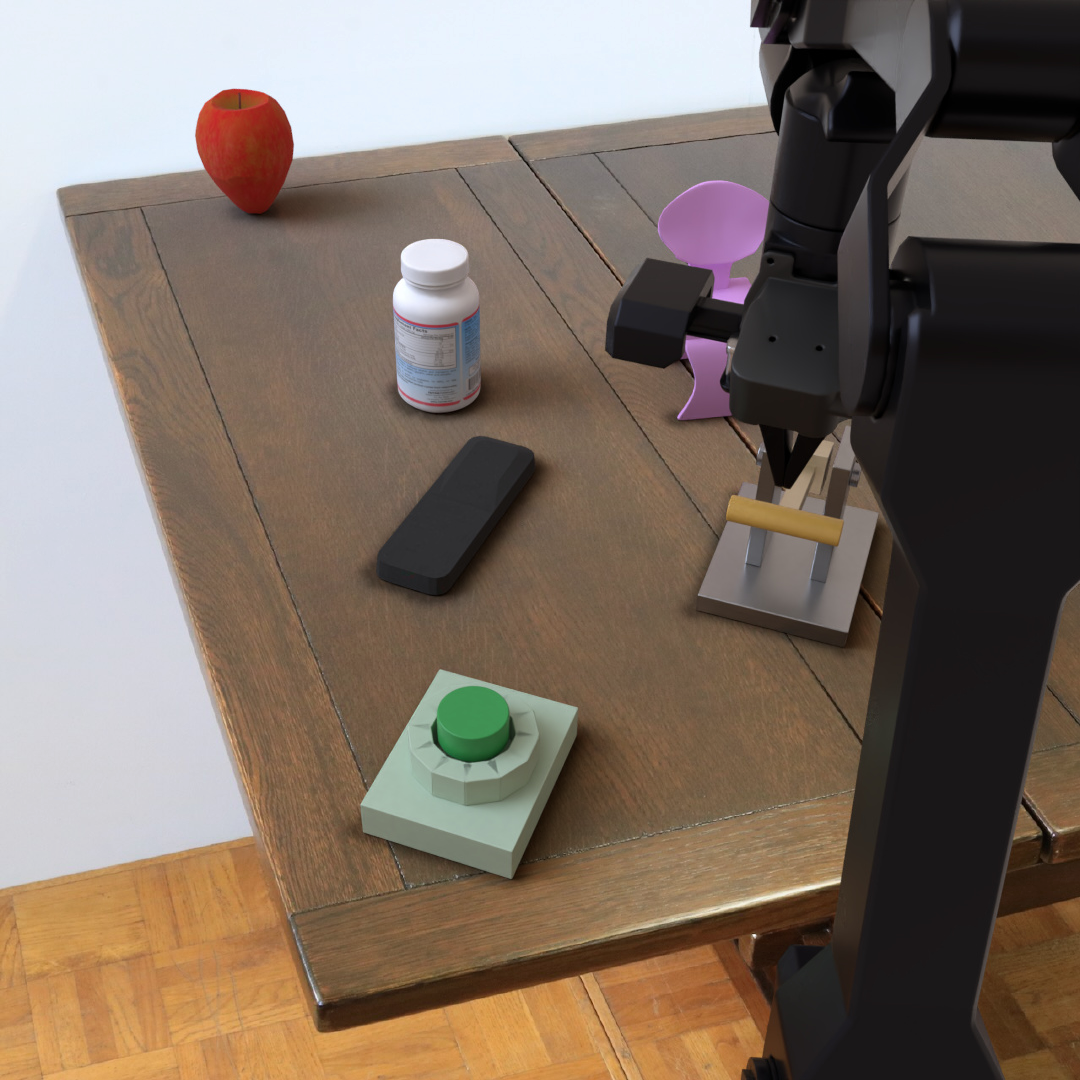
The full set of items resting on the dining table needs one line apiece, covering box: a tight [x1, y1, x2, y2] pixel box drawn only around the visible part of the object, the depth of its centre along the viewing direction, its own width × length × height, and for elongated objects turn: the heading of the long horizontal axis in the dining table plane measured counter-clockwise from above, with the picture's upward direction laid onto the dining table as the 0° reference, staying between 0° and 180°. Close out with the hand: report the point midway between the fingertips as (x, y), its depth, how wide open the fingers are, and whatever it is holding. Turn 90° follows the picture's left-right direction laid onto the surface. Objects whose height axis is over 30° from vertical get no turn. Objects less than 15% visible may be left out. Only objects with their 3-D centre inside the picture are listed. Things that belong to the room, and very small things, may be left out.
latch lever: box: [725, 439, 844, 547], centre depth 74 cm, size 11×6×2 cm, turn 160°
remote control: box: [375, 435, 537, 596], centre depth 85 cm, size 5×2×15 cm
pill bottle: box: [392, 238, 482, 414], centre depth 93 cm, size 6×6×11 cm
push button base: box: [360, 668, 579, 880], centre depth 68 cm, size 10×8×4 cm
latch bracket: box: [695, 425, 880, 648], centre depth 80 cm, size 12×9×10 cm
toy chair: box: [657, 179, 769, 421], centre depth 94 cm, size 8×9×15 cm
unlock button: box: [437, 686, 509, 762], centre depth 66 cm, size 4×4×2 cm
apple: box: [194, 88, 295, 215], centre depth 115 cm, size 9×8×11 cm
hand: (784, 483), depth 68 cm, fingers closed
